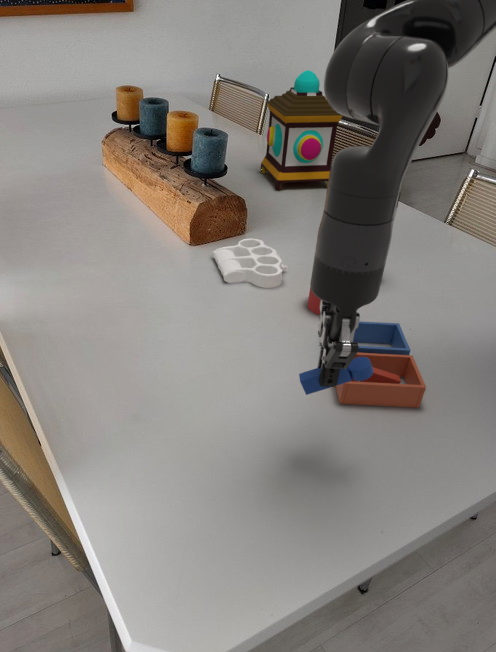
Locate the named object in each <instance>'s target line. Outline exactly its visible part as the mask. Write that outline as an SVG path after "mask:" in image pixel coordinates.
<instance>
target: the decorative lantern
mask: <svg viewBox="0 0 496 652" xmlns="http://www.w3.org/2000/svg"><path fill="white" fill-rule="evenodd" d="M320 84H321V83H320V79H319V78H318V76H317V75H316V73H315V72H314V71H312V70H309V69H307V70H304V71H302V72H301V73H300V74H299V75H298V76H297V77H296V78H295V80H294V83H293V86H291V87H290V88H289V90H286V92H285V93H282V94H281V95H274V96H273V97H272V98H270V99H269V100H268V101H266V103H267V108H268V111H269V118H268V120H269V121H268V129H267V134H266V151H265V156H264V157H263V159H262V161H261V162H260V173H261V174H266V172H267V173H268V174H269V175H270V177H271V178H273V180H274V181H275V191H277V192H280V191H281V188H282V187H283V186H282V185H283V184H288V183H289V184H290V183H310V182H311V183H312V182H313V183H314V182H326V188H327V187H328V181H329V174H330V169H331V165H332V161H333V155H334V149H335V142H336V136H337V130H338V126H339V123H340V121H341V120H342V118H343V117H344V116H343V115H341V114H339V113H337V112H336V111H335V110H333V109H332V108H331V106H330V105H329V103H328V101H327V99H326V96H325V95H323V91H321V90H320ZM261 169H262V170H261Z"/></svg>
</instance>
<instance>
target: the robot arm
mask: <svg viewBox="0 0 496 652" xmlns="http://www.w3.org/2000/svg"><path fill="white" fill-rule="evenodd" d="M495 30H496V0H404V1H402V2H400V3H398V4H396V5H393V6H392V7H390V8H388V9H387V10H385V11H382V12H381V13H378V14H377V15H375V16H373V17H371V18H370V19H368V20H366V21H365V22H363V23H361V24H359V25H358V26H357V27H355V28H354V29H352V30H351V31H350V32H349V33H348V34H347V35H346V36H345V37H343V39H342V41H340V42H339V44H338V45H337V47H336V48H335V49H334V51H333V52H332V54H331V57H330V59H329V61H328V63H327V65H326V68H325V73H324V77H323V92H324V96H325V97H326V100H327V101H328V103H329V105H330V106H331V108H332V109H333V110H335V111H336V112H337V113H339V114H341V115H343V116H342V117H345V118H348V119H352V120H356V121H360V122H364V123H368V124H371V125H376V126H379V128H378V132H377V135H376V137H375V139H374V141H373V143H372V144H371V145H354V146H349V147H345V148H342V149H341V150H339V151H338V152H337V153H336V154H335V155H334V157H333V158H332V162H331V169H330V174H329V181H328V187H326V194H325V201H324V206H323V207H324V209H323V213H322V216H321V219H320V222H319V226H318V230H317V236H316V243H315V249H314V250H315V251H314V257H313V258H314V259H313V265H312V270H311V277H310V283H309V284H310V285H309V286H311V290H312V292H313V293H314V294H315V296H317V297H318V298H319V299H321V303H320V315H319V319H318V320H319V321H318V330H317V335H318V338H319V339H320V340H319V342H318V347H319V350H320V352H319V357H318V363H317V367H316V368H321V370H320V377H319V385H320V386H322V387H330V388H336V385H337V382H338V377H339V373H340V369H347V368H348V366H349V365H350V363H351V362H352V360H353V359H354V357H355V355H356V354H357V352H358V350H359V346H360V345H359V342H353V338H354V333H355V330H356V329H357V328H358V325H359V321H360V319H361V314H360V312H358V310H359V309H360V308H362V307H365V306H368V305H370V304H372V303H373V302H374V301H375V300H377V298H378V296H379V293H380V289H381V286H382V281H383V276H384V272H385V267H386V264H387V259H388V255H389V251H390V246H391V243H392V237H393V229H394V224H393V220H394V215H395V211H396V206H397V202H398V198H399V194H400V193H401V189H402V184H403V181H404V178H405V177H406V173H407V171H408V169H409V168H410V165H411V162H412V161H413V159H414V157H415V154H416V152H417V151H418V149H419V146H420V145H421V142H422V140H423V138H424V136H425V135H426V133H427V131H428V129H429V127H430V125H431V124H432V122H433V120H434V118H435V117H436V114H437V113H438V110H439V108H440V106H441V104H442V102H443V101H444V99H445V95H446V92H447V89H448V82H449V69H451V68H453V67H455V66H456V65H458V64H460V63H462V61H463V60H465V58H467V57H468V56H469V55H470V54H471V53H472V52H473V51H475V49H476V48H477V47H478V46H479V45H480V44H481V43H483V42H484V40H486V39H487V38H488V37H489V36H490V35H491V34H492V33H493V32H494V31H495ZM398 203H399V202H398ZM394 221H395V220H394Z"/></svg>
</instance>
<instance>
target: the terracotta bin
mask: <svg viewBox="0 0 496 652" xmlns="http://www.w3.org/2000/svg"><path fill="white" fill-rule="evenodd" d="M357 357H367V358H368V359H369V360H370V362H371V365H372V367H374V368H377V369H381V370H384V371H387V372H390V373H393V374H396V375H399V377H400V378H404V382H405V383H404V384H403V383H400V384H391V383H372V382H360V381H358V382H354V381H350V382H346V383H343V384H340V385H337V386H335V391H336V395H337V400H338V404H341V405H342V404H343V405H359V406H360V405H361V406H362V405H363V406H380V407H382V406H383V407H396V408H397V407H398V408H416V409H418V408H420V407H421V404H422V401H423V398H424V395H425V392H426V390H427V386H426V383H425V381H424V379H423V376H422V375H421V372H420V369H419V366H418V365H417V363H416V360H415V358H414V355H412V354H411V355H410V354H409V355H395V354H376V353H357V354H356V355H355V357H354V359H355V358H357Z"/></svg>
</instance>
